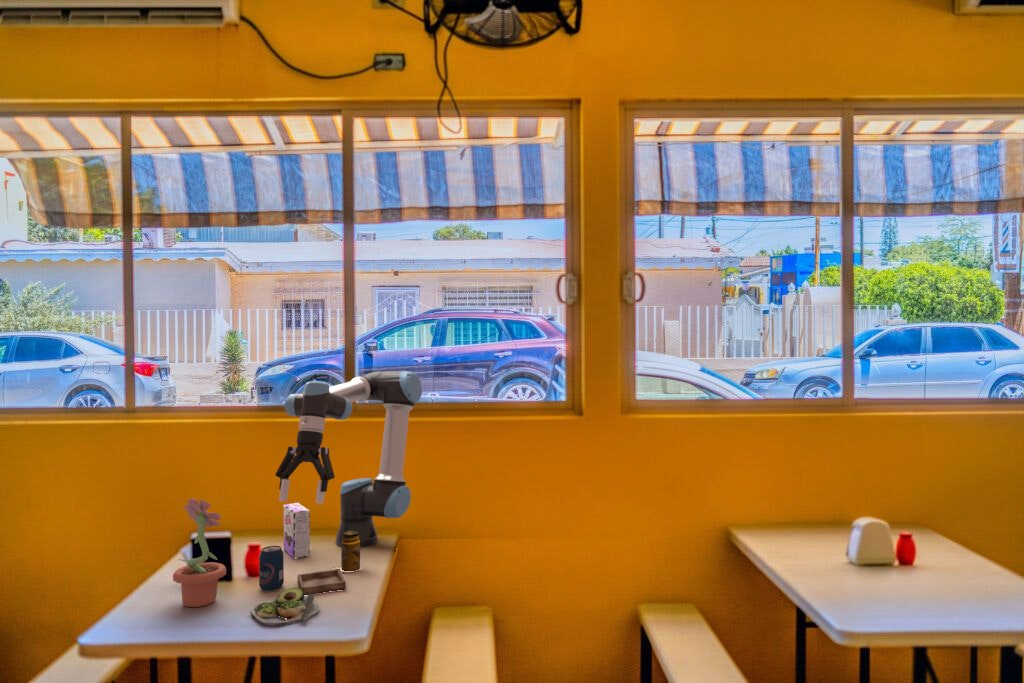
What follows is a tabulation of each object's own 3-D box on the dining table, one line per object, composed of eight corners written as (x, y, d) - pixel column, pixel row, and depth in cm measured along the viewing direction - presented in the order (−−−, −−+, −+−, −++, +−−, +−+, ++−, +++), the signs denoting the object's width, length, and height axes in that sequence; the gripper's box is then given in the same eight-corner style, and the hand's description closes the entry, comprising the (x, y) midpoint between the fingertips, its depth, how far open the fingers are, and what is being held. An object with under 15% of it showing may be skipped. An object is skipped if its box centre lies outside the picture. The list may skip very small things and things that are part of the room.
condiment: (364, 570, 215) (364, 533, 215) (339, 575, 210) (338, 537, 210) (356, 564, 221) (356, 528, 221) (331, 568, 216) (331, 532, 216)
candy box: (282, 549, 237) (282, 504, 237) (299, 547, 240) (299, 501, 240) (293, 560, 225) (293, 511, 226) (310, 556, 229) (310, 509, 229)
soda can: (254, 591, 196) (254, 551, 196) (268, 583, 203) (268, 544, 203) (274, 593, 194) (274, 552, 194) (288, 585, 201) (288, 545, 201)
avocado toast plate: (334, 618, 177) (334, 601, 177) (266, 636, 166) (266, 617, 166) (309, 597, 192) (309, 581, 192) (245, 612, 181) (245, 595, 181)
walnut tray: (339, 576, 208) (339, 568, 208) (345, 590, 197) (345, 581, 197) (297, 582, 203) (297, 574, 203) (301, 596, 192) (301, 587, 192)
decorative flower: (240, 597, 191) (239, 494, 192) (203, 615, 178) (202, 504, 179) (200, 591, 196) (200, 490, 197) (161, 608, 183) (161, 500, 184)
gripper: (270, 429, 204) (259, 499, 198) (336, 429, 194) (327, 503, 189) (286, 433, 210) (276, 501, 205) (351, 433, 201) (342, 504, 195)
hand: (300, 502), depth 197 cm, fingers open, 13 cm apart
